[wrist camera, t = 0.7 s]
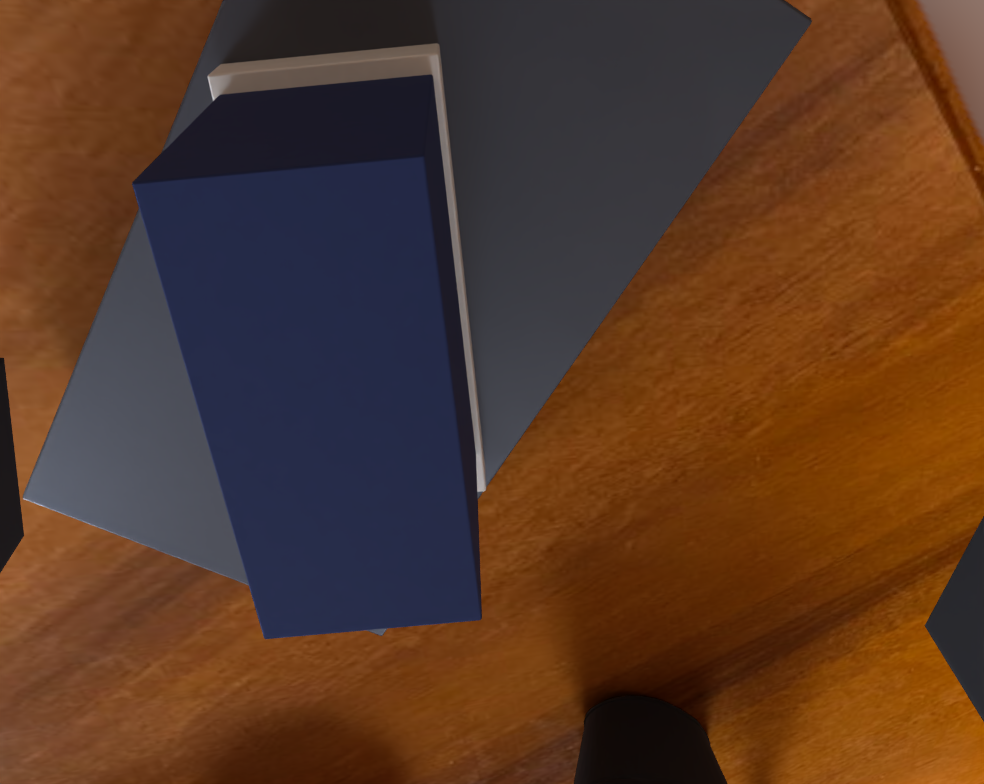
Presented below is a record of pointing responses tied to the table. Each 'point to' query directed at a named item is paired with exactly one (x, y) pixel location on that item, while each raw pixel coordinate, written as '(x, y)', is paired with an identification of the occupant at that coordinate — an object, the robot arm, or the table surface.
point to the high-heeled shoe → (644, 745)
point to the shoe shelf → (481, 215)
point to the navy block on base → (329, 334)
